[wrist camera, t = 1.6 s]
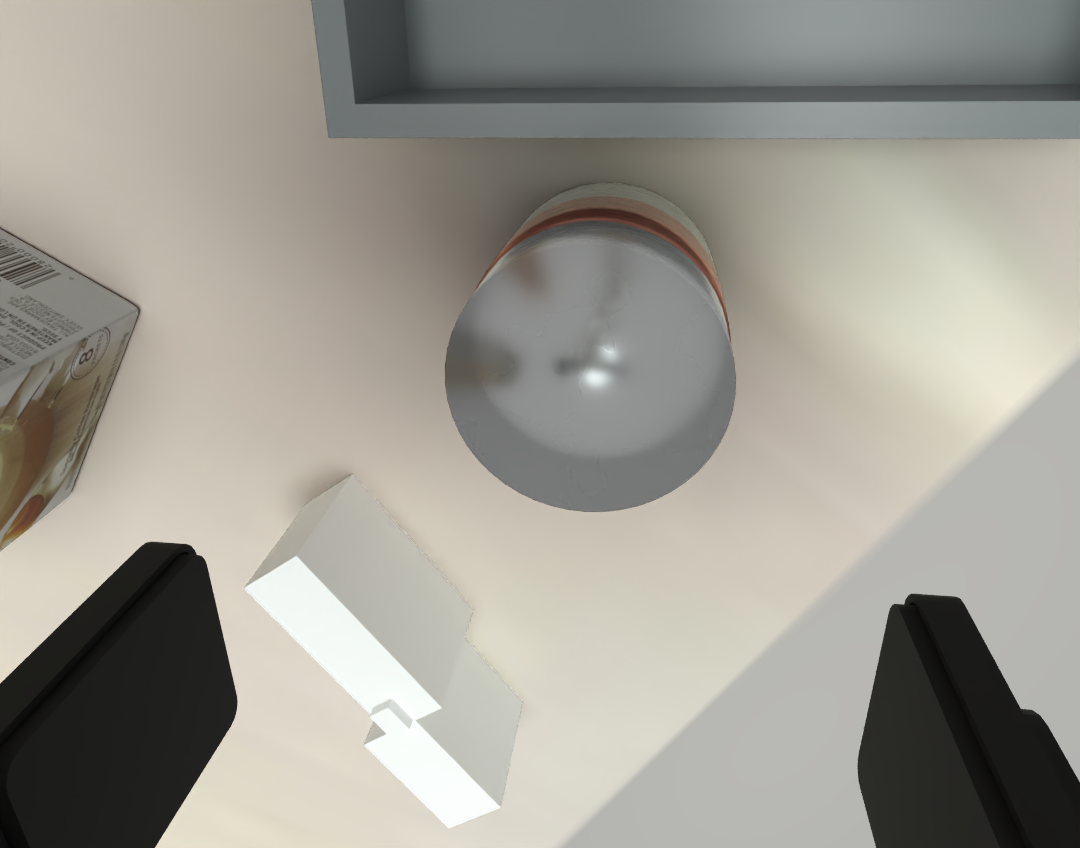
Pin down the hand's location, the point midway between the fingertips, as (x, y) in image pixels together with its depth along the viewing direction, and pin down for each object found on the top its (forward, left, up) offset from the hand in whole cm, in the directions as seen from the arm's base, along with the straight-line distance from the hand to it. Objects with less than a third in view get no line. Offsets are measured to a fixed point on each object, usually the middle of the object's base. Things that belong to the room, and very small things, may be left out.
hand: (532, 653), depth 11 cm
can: (-1, 0, -15) cm, 15 cm away
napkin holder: (+12, -7, -16) cm, 21 cm away
